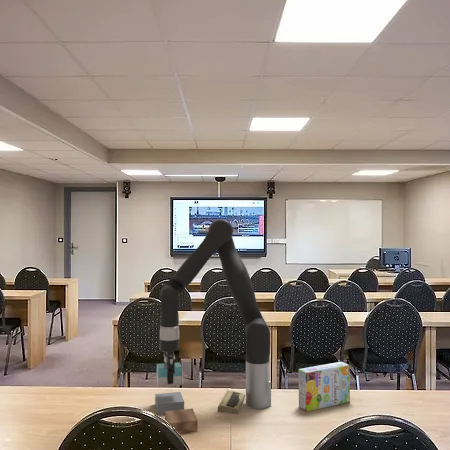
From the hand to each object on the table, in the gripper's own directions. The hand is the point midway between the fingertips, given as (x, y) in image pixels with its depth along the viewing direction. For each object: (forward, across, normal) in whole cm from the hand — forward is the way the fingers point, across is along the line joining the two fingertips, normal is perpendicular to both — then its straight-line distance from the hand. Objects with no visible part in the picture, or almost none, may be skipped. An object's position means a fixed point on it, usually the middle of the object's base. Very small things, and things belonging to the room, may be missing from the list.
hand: (169, 380), depth 172 cm
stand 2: (+10, -17, -2) cm, 20 cm away
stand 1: (+10, 0, 0) cm, 10 cm away
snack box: (+11, -11, -60) cm, 62 cm away
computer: (+11, -2, -24) cm, 27 cm away
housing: (+1, 0, 0) cm, 1 cm away
